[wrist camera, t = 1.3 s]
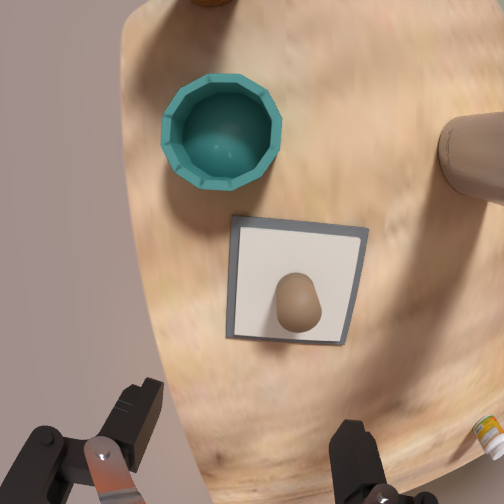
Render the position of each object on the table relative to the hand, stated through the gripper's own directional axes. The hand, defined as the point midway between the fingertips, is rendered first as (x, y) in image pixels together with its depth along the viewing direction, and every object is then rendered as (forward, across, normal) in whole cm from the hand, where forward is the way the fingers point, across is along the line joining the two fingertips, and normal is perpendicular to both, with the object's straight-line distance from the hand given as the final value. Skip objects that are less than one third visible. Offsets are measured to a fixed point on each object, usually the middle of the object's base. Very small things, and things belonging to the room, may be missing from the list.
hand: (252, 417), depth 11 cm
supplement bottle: (+22, -53, +23) cm, 62 cm away
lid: (+21, -4, +2) cm, 21 cm away
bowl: (+21, +7, -11) cm, 25 cm away
